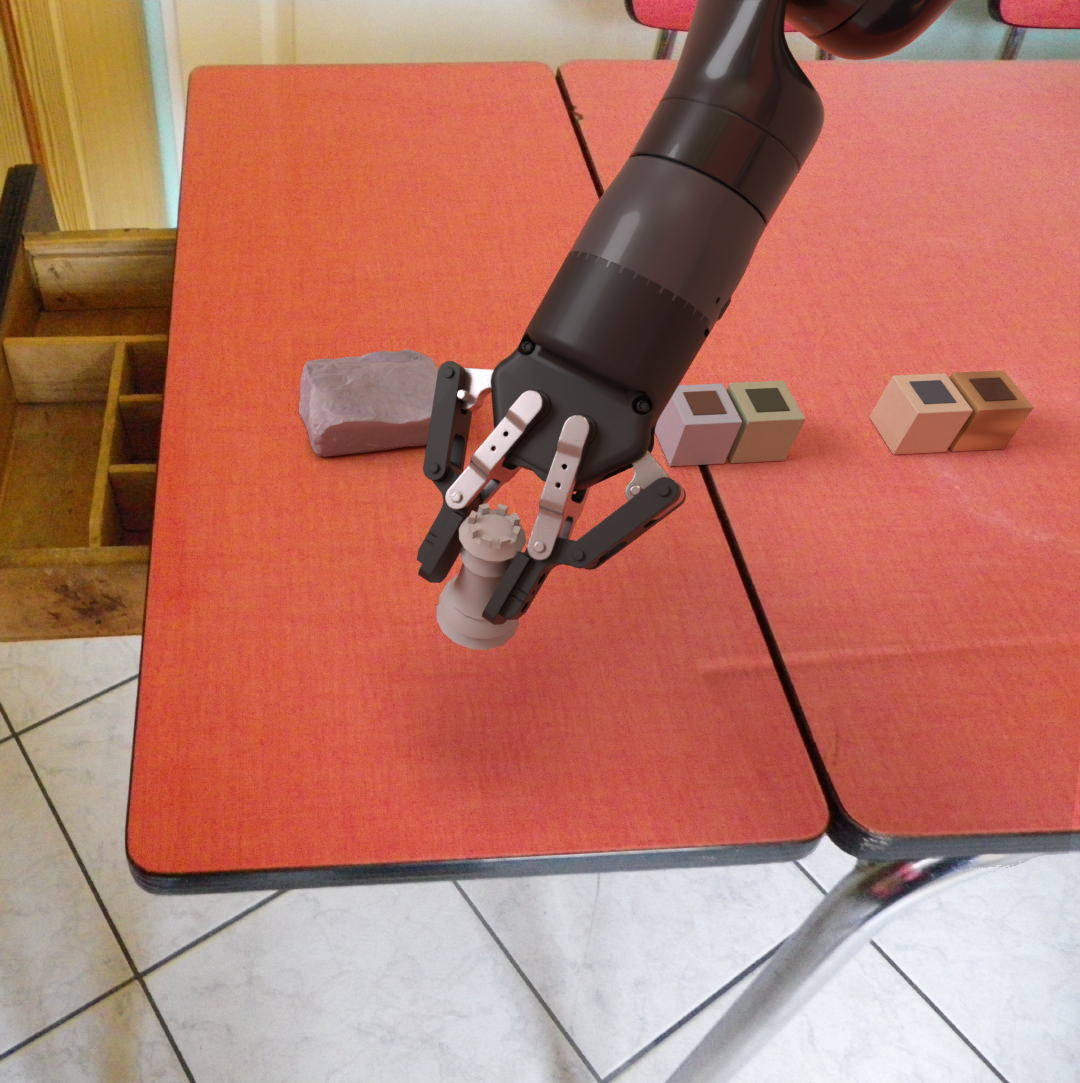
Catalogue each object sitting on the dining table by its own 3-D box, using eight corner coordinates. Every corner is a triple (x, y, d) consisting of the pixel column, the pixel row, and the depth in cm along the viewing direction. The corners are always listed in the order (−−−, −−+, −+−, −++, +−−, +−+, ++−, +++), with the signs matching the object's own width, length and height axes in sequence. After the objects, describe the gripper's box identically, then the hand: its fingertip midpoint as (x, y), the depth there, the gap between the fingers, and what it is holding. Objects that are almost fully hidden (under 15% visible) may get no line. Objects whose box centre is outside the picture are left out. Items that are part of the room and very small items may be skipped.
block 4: (976, 411, 83) (1005, 368, 80) (1004, 449, 80) (1035, 406, 77) (925, 414, 83) (952, 371, 79) (951, 452, 80) (980, 409, 76)
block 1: (706, 425, 81) (723, 381, 78) (724, 464, 78) (743, 420, 75) (652, 427, 81) (667, 384, 77) (669, 466, 78) (685, 423, 74)
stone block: (292, 402, 84) (312, 466, 77) (291, 350, 81) (311, 412, 74) (427, 390, 86) (459, 452, 79) (431, 340, 83) (465, 398, 76)
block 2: (764, 422, 82) (784, 379, 78) (785, 460, 79) (806, 417, 75) (712, 424, 81) (729, 381, 78) (730, 463, 78) (749, 420, 75)
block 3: (919, 414, 83) (946, 371, 79) (945, 452, 80) (974, 409, 76) (868, 417, 82) (892, 374, 79) (892, 455, 80) (918, 412, 76)
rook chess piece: (444, 660, 52) (459, 563, 46) (427, 592, 54) (439, 492, 48) (527, 650, 52) (553, 552, 46) (506, 583, 55) (527, 483, 49)
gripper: (493, 200, 46) (318, 524, 49) (779, 328, 40) (560, 685, 43) (538, 252, 52) (383, 533, 56) (789, 367, 47) (599, 674, 50)
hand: (461, 598), depth 49 cm, fingers closed on rook chess piece, 3 cm apart
